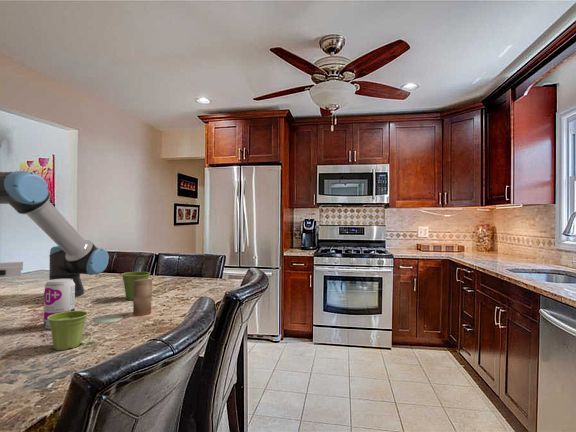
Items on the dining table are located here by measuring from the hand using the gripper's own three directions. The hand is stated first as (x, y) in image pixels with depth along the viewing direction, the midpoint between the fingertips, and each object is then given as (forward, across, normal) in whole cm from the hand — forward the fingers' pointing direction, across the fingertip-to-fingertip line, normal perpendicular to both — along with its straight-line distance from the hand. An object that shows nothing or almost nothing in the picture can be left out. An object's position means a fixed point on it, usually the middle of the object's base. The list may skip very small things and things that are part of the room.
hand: (22, 268), depth 101 cm
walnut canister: (+34, +5, -18) cm, 39 cm away
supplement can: (+10, 0, -20) cm, 22 cm away
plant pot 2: (+39, -26, -20) cm, 51 cm away
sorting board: (+29, +5, -20) cm, 35 cm away
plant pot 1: (+11, +22, -20) cm, 31 cm away
